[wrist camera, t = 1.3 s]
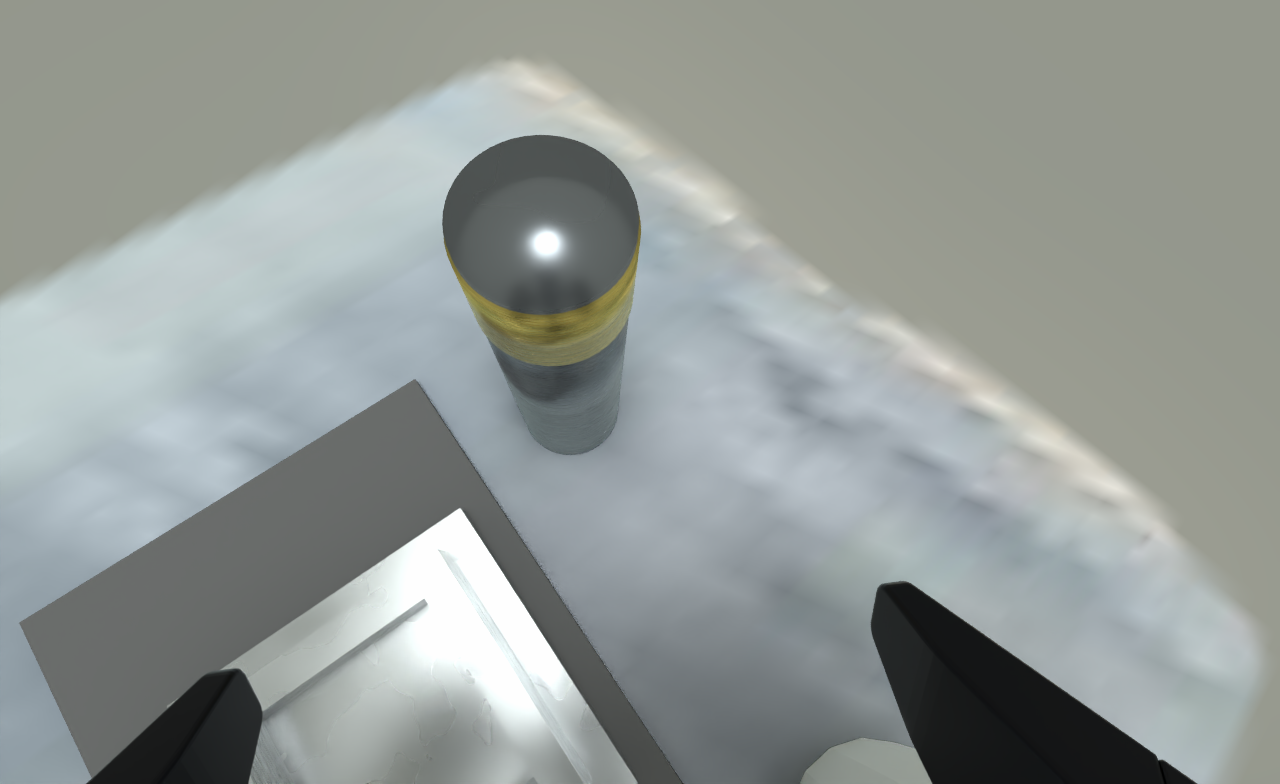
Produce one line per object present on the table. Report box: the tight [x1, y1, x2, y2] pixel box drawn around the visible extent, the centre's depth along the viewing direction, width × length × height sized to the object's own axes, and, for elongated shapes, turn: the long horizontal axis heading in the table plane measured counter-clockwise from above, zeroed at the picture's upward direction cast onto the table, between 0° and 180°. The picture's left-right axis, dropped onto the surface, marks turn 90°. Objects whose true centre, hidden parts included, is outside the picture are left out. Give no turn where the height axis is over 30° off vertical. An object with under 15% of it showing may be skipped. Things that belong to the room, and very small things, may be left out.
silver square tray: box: [167, 508, 638, 784], centre depth 19 cm, size 10×10×3 cm
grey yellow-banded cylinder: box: [442, 135, 641, 455], centre depth 18 cm, size 4×4×13 cm
